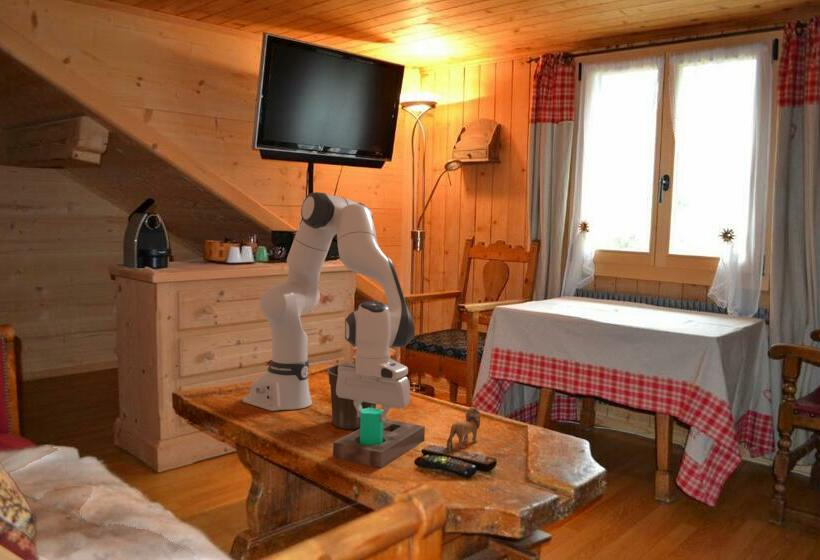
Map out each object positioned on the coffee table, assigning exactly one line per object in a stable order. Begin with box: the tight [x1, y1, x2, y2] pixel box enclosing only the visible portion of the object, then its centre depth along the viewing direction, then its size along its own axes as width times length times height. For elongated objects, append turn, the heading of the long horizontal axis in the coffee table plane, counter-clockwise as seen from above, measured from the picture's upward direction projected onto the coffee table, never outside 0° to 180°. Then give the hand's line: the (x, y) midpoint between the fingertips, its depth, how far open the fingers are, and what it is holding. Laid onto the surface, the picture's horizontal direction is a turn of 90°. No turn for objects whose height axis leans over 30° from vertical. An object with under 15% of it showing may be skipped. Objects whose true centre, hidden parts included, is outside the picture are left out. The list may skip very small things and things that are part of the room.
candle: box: [359, 408, 383, 445], centre depth 178 cm, size 6×6×12 cm
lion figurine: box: [446, 406, 481, 450], centre depth 188 cm, size 15×5×9 cm, turn 149°
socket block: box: [332, 418, 426, 469], centre depth 183 cm, size 14×24×4 cm, turn 153°
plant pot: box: [326, 364, 377, 431], centre depth 202 cm, size 16×16×16 cm
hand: (371, 419), depth 177 cm, fingers closed on candle, 5 cm apart
